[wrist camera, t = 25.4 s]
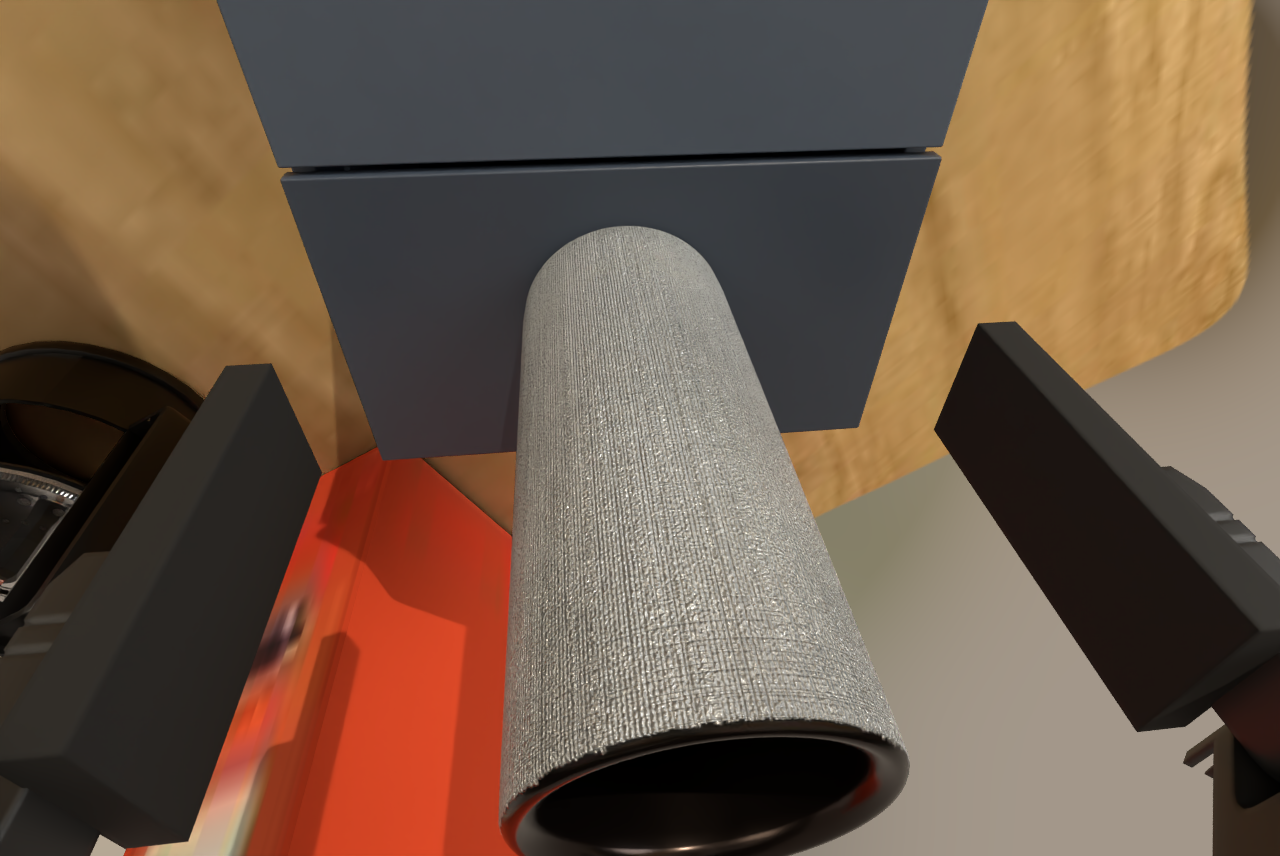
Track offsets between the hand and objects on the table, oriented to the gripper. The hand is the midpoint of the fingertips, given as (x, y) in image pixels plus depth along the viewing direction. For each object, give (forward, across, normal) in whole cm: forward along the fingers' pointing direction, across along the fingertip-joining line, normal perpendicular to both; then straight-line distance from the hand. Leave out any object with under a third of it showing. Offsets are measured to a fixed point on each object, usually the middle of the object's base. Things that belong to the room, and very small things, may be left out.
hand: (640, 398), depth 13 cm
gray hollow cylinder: (+3, 0, 0) cm, 3 cm away
